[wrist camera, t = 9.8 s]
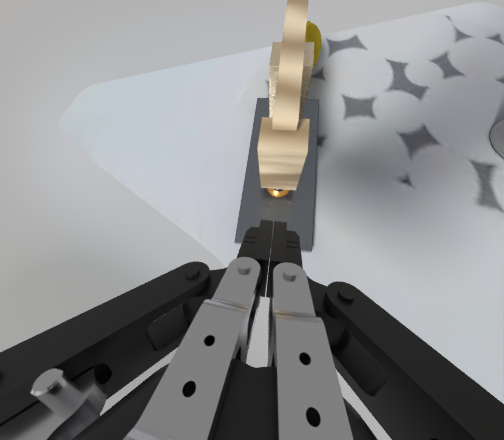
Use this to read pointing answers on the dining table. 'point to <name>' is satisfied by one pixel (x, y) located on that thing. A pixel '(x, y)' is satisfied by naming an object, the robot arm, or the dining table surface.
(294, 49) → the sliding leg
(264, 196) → the bolt plate
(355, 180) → the dining table surface
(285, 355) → the robot arm
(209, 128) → the dining table surface
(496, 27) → the dining table surface
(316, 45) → the lemon
